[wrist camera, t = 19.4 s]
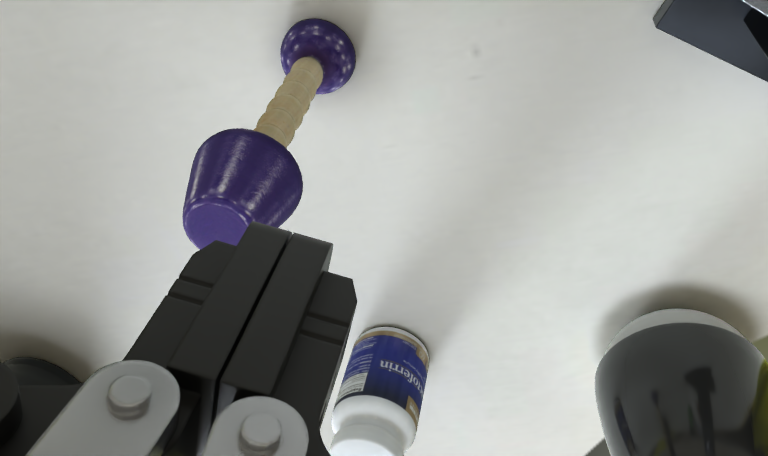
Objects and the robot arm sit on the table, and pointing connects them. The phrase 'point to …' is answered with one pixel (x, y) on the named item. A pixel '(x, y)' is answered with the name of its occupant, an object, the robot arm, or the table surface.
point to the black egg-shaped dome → (682, 388)
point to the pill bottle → (380, 395)
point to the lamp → (38, 372)
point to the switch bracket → (720, 30)
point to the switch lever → (758, 5)
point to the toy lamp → (265, 143)
